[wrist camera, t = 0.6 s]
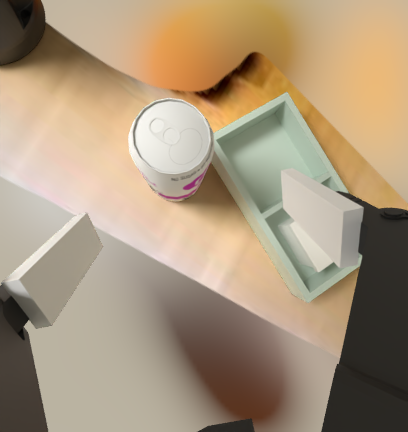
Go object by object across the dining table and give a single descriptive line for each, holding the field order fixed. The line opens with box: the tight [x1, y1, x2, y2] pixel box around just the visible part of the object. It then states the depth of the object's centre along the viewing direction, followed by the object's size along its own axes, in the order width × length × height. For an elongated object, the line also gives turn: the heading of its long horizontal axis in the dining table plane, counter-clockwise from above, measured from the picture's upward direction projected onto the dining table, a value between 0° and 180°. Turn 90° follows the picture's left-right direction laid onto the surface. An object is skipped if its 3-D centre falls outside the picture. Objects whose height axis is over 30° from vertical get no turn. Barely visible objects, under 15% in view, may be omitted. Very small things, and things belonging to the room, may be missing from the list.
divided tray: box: [211, 92, 362, 303], centre depth 34 cm, size 27×14×4 cm, turn 32°
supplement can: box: [128, 98, 215, 202], centre depth 28 cm, size 8×8×15 cm
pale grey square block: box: [278, 217, 333, 272], centre depth 33 cm, size 8×8×5 cm
